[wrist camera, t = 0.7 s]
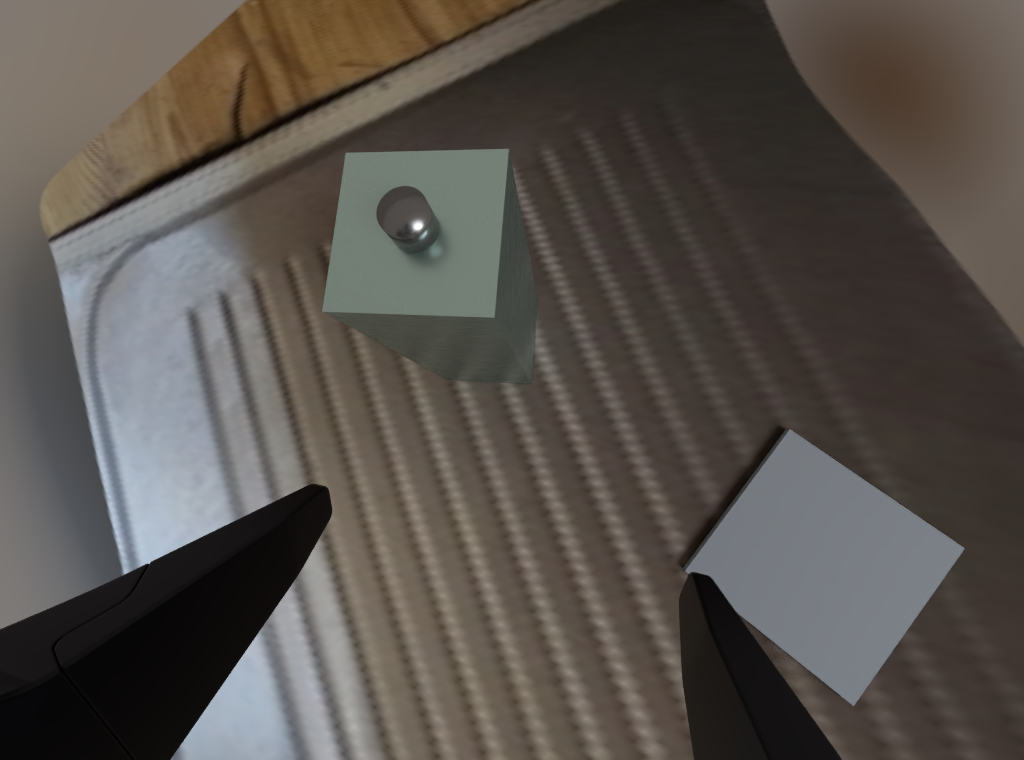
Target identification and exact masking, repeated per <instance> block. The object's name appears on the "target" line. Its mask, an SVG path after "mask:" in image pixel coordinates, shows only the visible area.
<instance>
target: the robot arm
mask: <svg viewBox="0 0 1024 760" xmlns="http://www.w3.org/2000/svg"><path fill="white" fill-rule="evenodd" d="M331 515H332V505H331V499H330V493H329V489H328V488H327V487H326V486H322V485H318V484H310V485H308V486H306V487H304V488H301V489H299V490H297V491H295V492H293V493H291V494H289V495H287V496H285V497H283V498H281V499H279V500H277V501H275V502H273V503H271V504H269V505H267V506H265V507H263V508H260V509H258V510H256V511H254V512H252V513H250V514H248V515H246V516H244V517H242V518H240V519H238V520H236V521H234V522H232V523H230V524H228V525H226V526H224V527H222V528H219V529H217V530H215V531H213V532H211V533H209V534H207V535H205V536H203V537H201V538H199V539H197V540H195V541H193V542H191V543H189V544H187V545H185V546H183V547H181V548H178V549H176V550H174V551H172V552H170V553H168V554H166V555H164V556H162V557H160V558H158V559H156V560H154V561H152V562H151V563H150V564H145V565H143V566H141V567H139V568H137V569H135V570H133V571H131V572H129V573H127V574H125V575H123V576H121V577H119V578H116V579H114V580H112V581H110V582H108V583H106V584H104V585H101V586H99V587H97V588H95V589H93V590H91V591H88V592H86V593H84V594H81V595H79V596H77V597H75V598H72V599H70V600H68V601H66V602H64V603H61V604H59V605H56V606H54V607H52V608H49V609H47V610H45V611H42V612H40V613H38V614H35V615H33V616H30V617H28V618H26V619H24V620H21V621H19V622H17V623H14V624H12V625H9V626H7V627H5V628H2V629H0V760H171V758H172V757H173V755H174V754H175V752H176V751H177V749H178V748H179V747H180V745H181V744H182V742H183V741H184V739H185V738H186V736H187V735H188V734H189V732H190V731H191V729H192V728H193V726H194V725H195V723H196V722H197V721H198V719H199V718H200V716H201V715H202V713H203V712H204V710H205V709H206V708H207V706H208V705H209V703H210V702H211V700H212V699H213V697H214V696H215V695H216V693H217V692H218V690H219V689H220V687H221V686H222V684H223V683H224V682H225V680H226V679H227V677H228V676H229V674H230V673H231V671H232V670H233V669H234V667H235V666H236V664H237V663H238V661H239V660H240V659H241V657H242V656H243V654H244V653H245V651H246V650H247V648H248V647H249V646H250V644H251V643H252V641H253V640H254V638H255V637H256V635H257V634H258V633H259V631H260V630H261V628H262V627H263V625H264V624H265V622H266V621H267V620H268V618H269V617H270V615H271V614H272V612H273V611H274V609H275V608H276V607H277V605H278V604H279V602H280V601H281V599H282V598H283V596H284V595H285V594H286V592H287V591H288V589H289V588H290V586H291V585H292V583H293V582H294V580H295V579H296V577H297V576H298V574H299V573H300V571H301V570H302V568H303V566H304V564H305V563H306V561H307V559H308V557H309V556H310V554H311V552H312V550H313V548H314V547H315V545H316V543H317V541H318V540H319V538H320V536H321V534H322V532H323V531H324V529H325V527H326V525H327V523H328V522H329V520H330V518H331ZM679 619H680V642H681V665H682V680H683V688H684V695H685V702H686V708H687V715H688V722H689V729H690V735H691V742H692V749H693V756H694V760H842V759H841V757H840V756H839V755H838V753H837V752H836V750H835V749H834V748H833V746H832V745H831V743H830V742H829V741H828V739H827V738H826V736H825V735H824V734H823V732H822V731H821V729H820V728H819V727H818V725H817V724H816V722H815V721H814V720H813V718H812V717H811V715H810V714H809V713H808V711H807V710H806V709H805V707H804V706H803V704H802V703H801V702H800V700H799V699H798V697H797V696H796V695H795V693H794V692H793V690H792V689H791V688H790V686H789V685H788V683H787V682H786V681H785V679H784V678H783V676H782V675H781V674H780V672H779V671H778V669H777V668H776V667H775V665H774V664H773V662H772V661H771V660H770V658H769V657H768V655H767V654H766V653H765V651H764V650H763V648H762V647H761V646H760V644H759V643H758V642H757V640H756V639H755V637H754V636H753V635H752V633H751V632H750V630H749V629H748V628H747V626H746V625H745V623H744V622H743V621H742V619H741V618H740V616H739V615H738V614H737V612H736V611H735V609H734V608H733V607H732V605H731V604H730V602H729V601H728V600H727V598H726V597H725V595H724V594H723V593H722V591H721V590H720V588H719V587H718V586H717V584H716V583H715V582H714V580H713V579H712V578H711V577H710V576H708V575H705V574H701V573H696V572H691V573H690V574H689V575H688V577H687V580H686V582H685V584H684V587H683V589H682V591H681V594H680V597H679Z"/></svg>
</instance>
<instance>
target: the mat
mask: <svg viewBox="0 0 1024 760" xmlns="http://www.w3.org/2000/svg"><path fill="white" fill-rule="evenodd" d="M964 549H965V548H963V547H962V546H960V545H959V544H957V543H956V542H955V541H953V540H952V539H950V538H949V537H947V536H946V535H944V534H943V533H941V532H940V531H938V530H937V529H935V528H934V527H933V526H931V525H930V524H928V523H927V522H925V521H924V520H922V519H921V518H919V517H918V516H916V515H915V514H913V513H912V512H910V511H909V510H908V509H906V508H905V507H903V506H902V505H900V504H899V503H897V502H896V501H894V500H893V499H891V498H890V497H888V496H887V495H886V494H884V493H883V492H881V491H880V490H878V489H877V488H875V487H874V486H872V485H871V484H869V483H868V482H866V481H865V480H864V479H862V478H861V477H859V476H858V475H856V474H855V473H853V472H852V471H850V470H849V469H847V468H846V467H844V466H843V465H842V464H840V463H839V462H837V461H836V460H834V459H833V458H831V457H830V456H828V455H827V454H825V453H824V452H822V451H821V450H820V449H818V448H817V447H815V446H814V445H812V444H811V443H809V442H808V441H806V440H805V439H803V438H802V437H800V436H799V435H798V434H796V433H795V432H793V431H792V430H790V429H786V430H785V431H784V432H783V434H782V435H781V436H780V438H779V439H778V441H777V442H776V443H775V445H774V446H773V447H772V449H771V450H770V451H769V453H768V454H767V455H766V457H765V458H764V459H763V461H762V462H761V463H760V465H759V466H758V468H757V469H756V470H755V472H754V473H753V474H752V476H751V477H750V478H749V480H748V481H747V482H746V484H745V485H744V486H743V488H742V489H741V490H740V492H739V493H738V495H737V496H736V497H735V499H734V500H733V501H732V503H731V504H730V505H729V507H728V508H727V509H726V511H725V512H724V513H723V515H722V516H721V517H720V519H719V520H718V522H717V523H716V524H715V526H714V527H713V528H712V530H711V531H710V532H709V534H708V535H707V536H706V538H705V539H704V540H703V542H702V543H701V544H700V546H699V547H698V549H697V550H696V551H695V553H694V554H693V555H692V557H691V558H690V559H689V561H688V562H687V563H686V565H685V566H684V567H683V569H684V570H685V571H686V572H687V573H688V574H690V573H691V572H696V573H701V574H705V575H708V576H710V577H711V578H712V579H713V580H714V582H715V583H716V584H717V586H718V587H719V588H720V590H721V591H722V593H723V594H724V595H725V597H726V598H727V600H728V601H729V602H730V604H731V605H732V607H733V608H734V609H735V611H736V612H737V613H738V614H739V615H741V616H742V617H743V618H744V619H746V620H747V621H748V622H749V623H751V624H752V625H753V626H754V627H756V628H757V629H758V630H759V631H761V632H762V633H763V634H764V635H766V636H767V637H768V638H769V639H771V640H772V641H773V642H774V643H776V644H777V645H778V646H779V647H781V648H782V649H783V650H784V651H786V652H787V653H788V654H789V655H791V656H792V657H793V658H794V659H796V660H797V661H798V662H799V663H801V664H802V665H803V666H804V667H806V668H807V669H808V670H809V671H811V672H812V673H813V674H814V675H816V676H817V677H818V678H819V679H821V680H822V681H823V682H824V683H826V684H827V685H828V686H829V687H831V688H832V689H833V690H834V691H836V692H837V693H838V694H839V695H841V696H842V697H843V698H844V699H846V700H847V701H848V702H849V703H851V704H852V705H853V706H854V705H855V703H856V702H857V700H858V699H859V698H860V696H861V695H862V693H863V692H864V691H865V689H866V688H867V686H868V685H869V683H870V682H871V681H872V679H873V678H874V676H875V675H876V674H877V672H878V671H879V669H880V668H881V666H882V665H883V664H884V662H885V661H886V659H887V658H888V657H889V655H890V654H891V652H892V651H893V649H894V648H895V647H896V645H897V644H898V642H899V641H900V640H901V638H902V637H903V635H904V634H905V632H906V631H907V630H908V628H909V627H910V625H911V624H912V623H913V621H914V620H915V618H916V617H917V615H918V614H919V613H920V611H921V610H922V608H923V607H924V606H925V604H926V603H927V601H928V600H929V598H930V597H931V596H932V594H933V593H934V591H935V590H936V589H937V587H938V586H939V584H940V583H941V581H942V580H943V579H944V577H945V576H946V574H947V573H948V572H949V570H950V569H951V567H952V566H953V564H954V563H955V562H956V560H957V559H958V557H959V556H960V555H961V553H962V552H963V550H964Z"/></svg>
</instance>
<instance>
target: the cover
mask: <svg viewBox="0 0 1024 760" xmlns="http://www.w3.org/2000/svg"><path fill="white" fill-rule="evenodd" d="M537 305H538V300H537V295H536V289H535V284H534V279H533V273H532V268H531V263H530V258H529V252H528V247H527V242H526V237H525V231H524V226H523V221H522V216H521V210H520V205H519V200H518V195H517V189H516V184H515V179H514V174H513V168H512V163H511V158H510V152H509V149H489V150H447V151H406V152H364V153H346V156H345V162H344V169H343V176H342V182H341V189H340V196H339V202H338V209H337V216H336V223H335V229H334V236H333V243H332V249H331V256H330V263H329V270H328V276H327V283H326V290H325V296H324V303H323V310H322V312H324V313H326V314H327V315H329V316H331V317H333V318H335V319H337V320H339V321H340V322H342V323H344V324H346V325H348V326H350V327H351V328H353V329H355V330H357V331H359V332H361V333H363V334H364V335H366V336H368V337H370V338H372V339H374V340H375V341H377V342H379V343H381V344H383V345H385V346H387V347H388V348H390V349H392V350H394V351H396V352H398V353H399V354H401V355H403V356H405V357H407V358H409V359H411V360H412V361H414V362H416V363H418V364H420V365H422V366H424V367H425V368H427V369H429V370H431V371H433V372H435V373H436V374H438V375H440V376H442V377H444V378H446V379H448V380H462V381H480V382H497V383H515V384H532V377H533V362H534V348H535V333H536V319H537Z"/></svg>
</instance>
